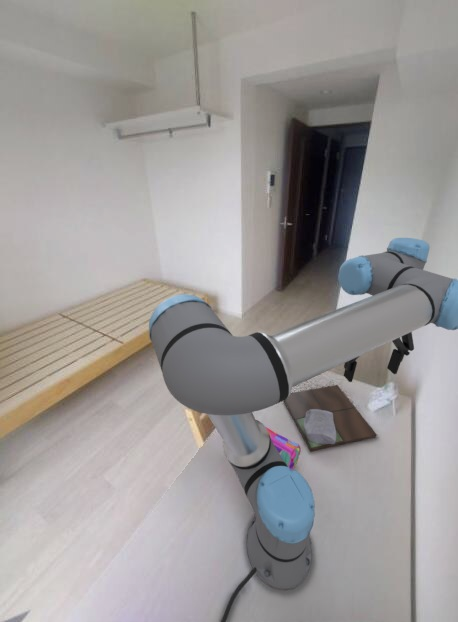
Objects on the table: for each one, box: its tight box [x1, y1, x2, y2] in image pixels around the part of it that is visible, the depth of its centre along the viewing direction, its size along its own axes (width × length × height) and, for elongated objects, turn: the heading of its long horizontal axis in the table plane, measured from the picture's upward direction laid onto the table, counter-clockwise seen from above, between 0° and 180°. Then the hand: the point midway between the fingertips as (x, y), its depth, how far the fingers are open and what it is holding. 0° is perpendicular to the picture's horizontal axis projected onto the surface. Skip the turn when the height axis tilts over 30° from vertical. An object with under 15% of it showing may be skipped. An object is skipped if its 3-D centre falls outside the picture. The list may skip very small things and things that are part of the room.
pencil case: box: [264, 425, 302, 470], centre depth 85 cm, size 22×9×9 cm, turn 55°
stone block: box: [304, 409, 336, 444], centre depth 92 cm, size 12×5×10 cm
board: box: [283, 384, 378, 453], centre depth 99 cm, size 24×24×2 cm
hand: (370, 374), depth 74 cm, fingers open, 13 cm apart
